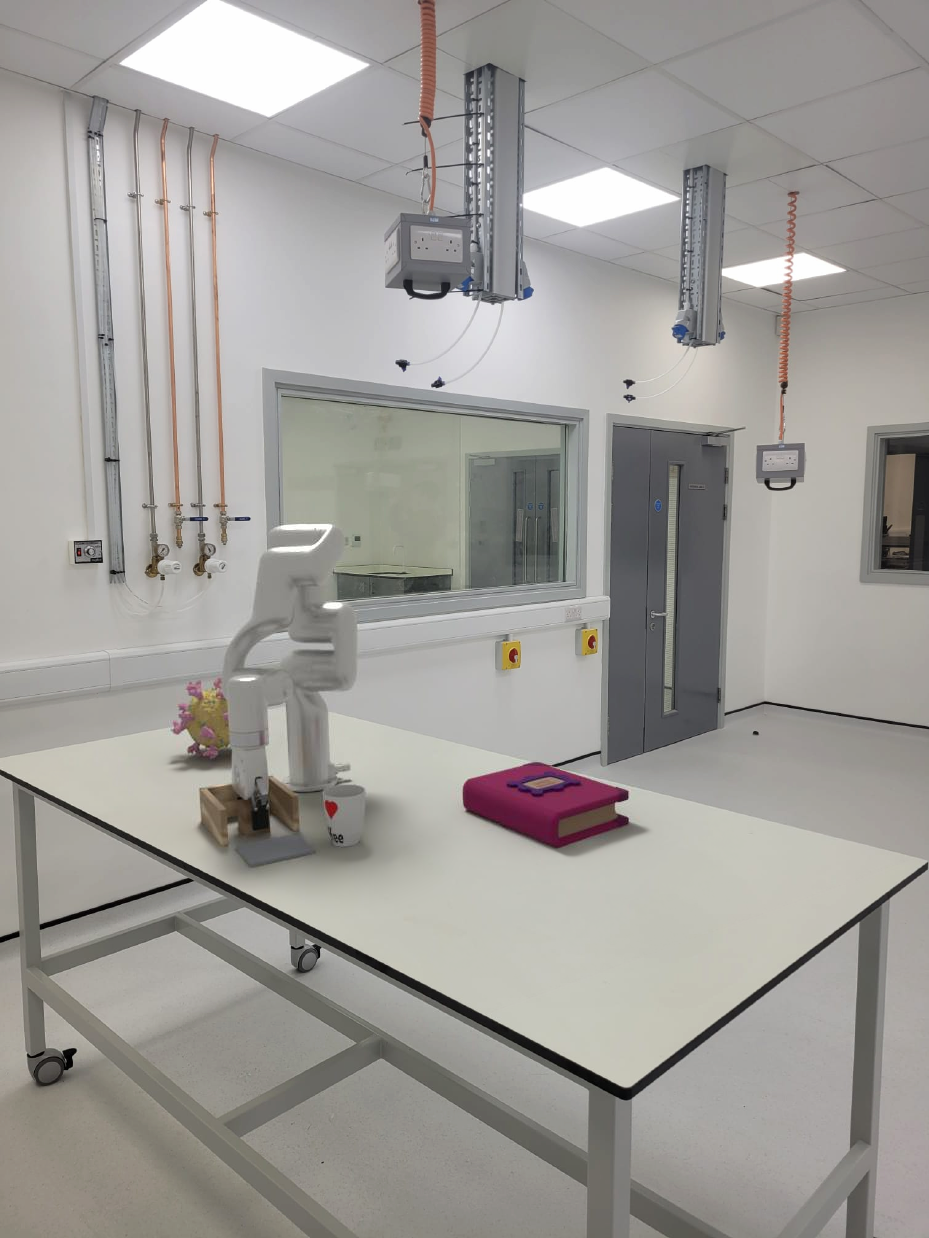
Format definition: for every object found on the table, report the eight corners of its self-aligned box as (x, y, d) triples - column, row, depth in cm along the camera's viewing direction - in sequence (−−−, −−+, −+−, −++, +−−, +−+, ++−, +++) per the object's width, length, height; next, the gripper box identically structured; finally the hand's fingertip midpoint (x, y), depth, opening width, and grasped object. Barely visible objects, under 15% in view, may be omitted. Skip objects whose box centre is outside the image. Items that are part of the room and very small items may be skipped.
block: (262, 824, 177) (261, 795, 176) (270, 831, 173) (268, 802, 172) (238, 829, 174) (236, 800, 174) (245, 836, 170) (243, 807, 169)
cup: (319, 838, 168) (317, 788, 167) (359, 831, 172) (357, 781, 170) (331, 852, 161) (329, 800, 160) (373, 844, 164) (371, 793, 163)
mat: (296, 836, 170) (296, 833, 170) (315, 852, 161) (314, 849, 161) (235, 849, 164) (235, 846, 163) (251, 867, 155) (251, 863, 155)
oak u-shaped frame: (273, 806, 187) (272, 775, 186) (299, 829, 173) (298, 795, 172) (201, 821, 179) (199, 788, 178) (222, 845, 165) (220, 810, 164)
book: (554, 851, 160) (553, 812, 159) (462, 812, 182) (461, 777, 181) (631, 825, 173) (632, 788, 172) (537, 791, 195) (536, 758, 194)
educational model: (155, 763, 222) (150, 687, 220) (205, 741, 243) (201, 671, 241) (235, 769, 215) (231, 691, 213) (279, 746, 237) (276, 674, 234)
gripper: (218, 731, 177) (222, 813, 179) (242, 750, 162) (247, 838, 164) (254, 726, 180) (258, 806, 182) (281, 744, 166) (285, 831, 168)
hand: (253, 821), depth 173 cm, fingers open, 9 cm apart
